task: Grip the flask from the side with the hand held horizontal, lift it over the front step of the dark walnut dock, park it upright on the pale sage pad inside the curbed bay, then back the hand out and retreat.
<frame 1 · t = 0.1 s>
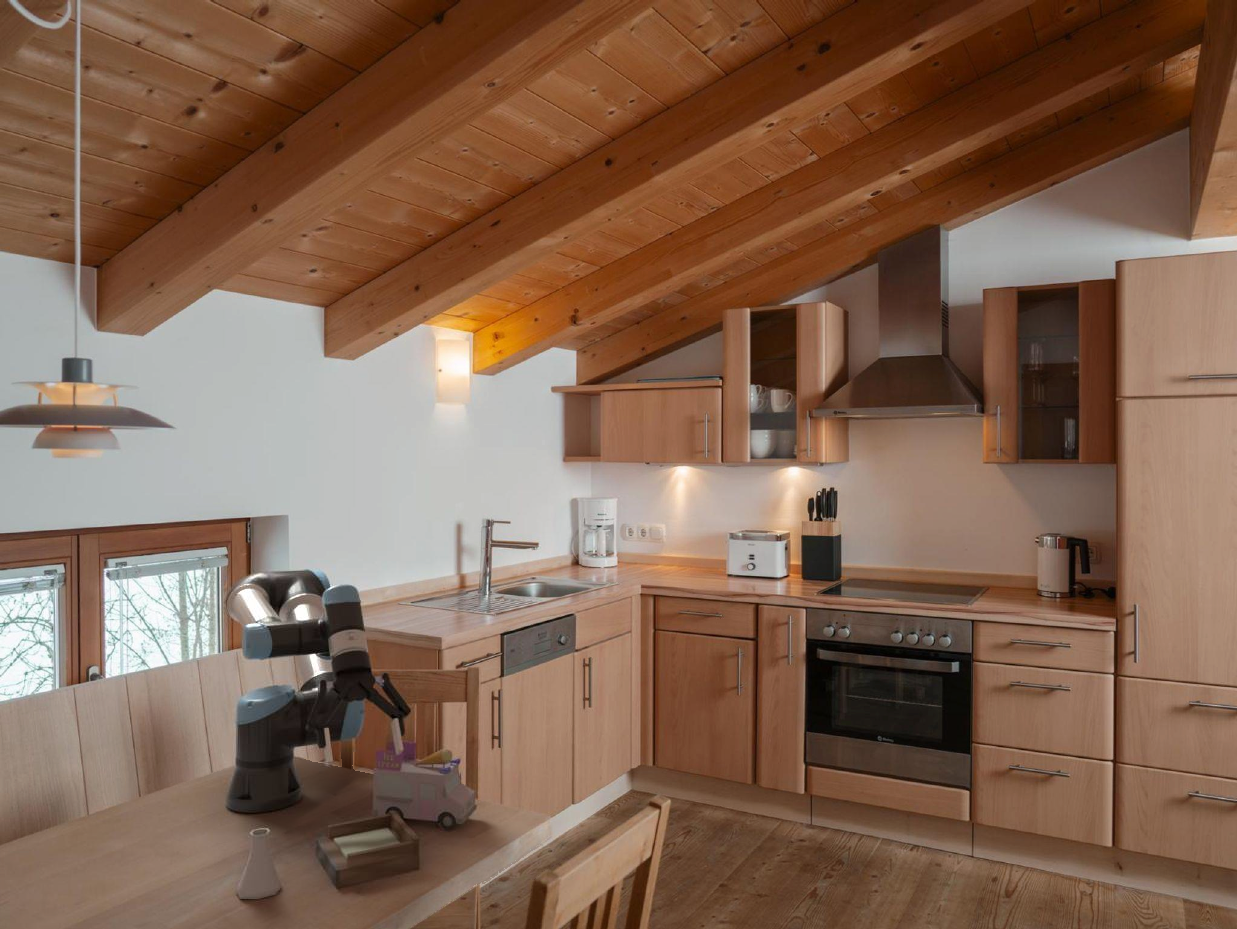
hand: (365, 758, 175), 15 cm above the table, tool tilted 35°, fingers open, 13 cm apart
toy vehicle: (424, 822, 183), on the table
dock: (368, 861, 164), on the table
flask: (259, 891, 153), on the table
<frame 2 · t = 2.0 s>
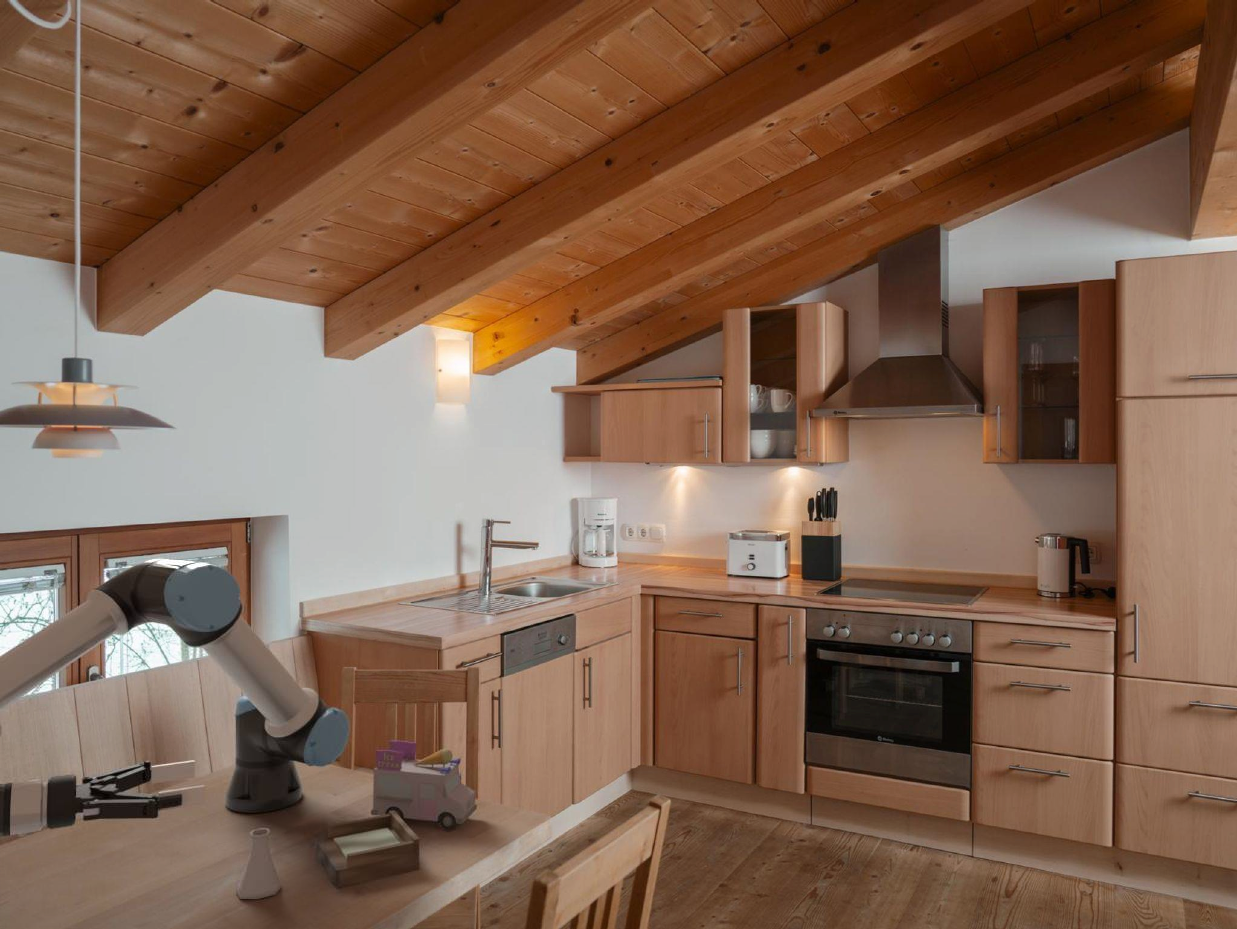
hand: (199, 780, 148), 20 cm above the table, tool horizontal, fingers open, 13 cm apart
nothing on the table moved.
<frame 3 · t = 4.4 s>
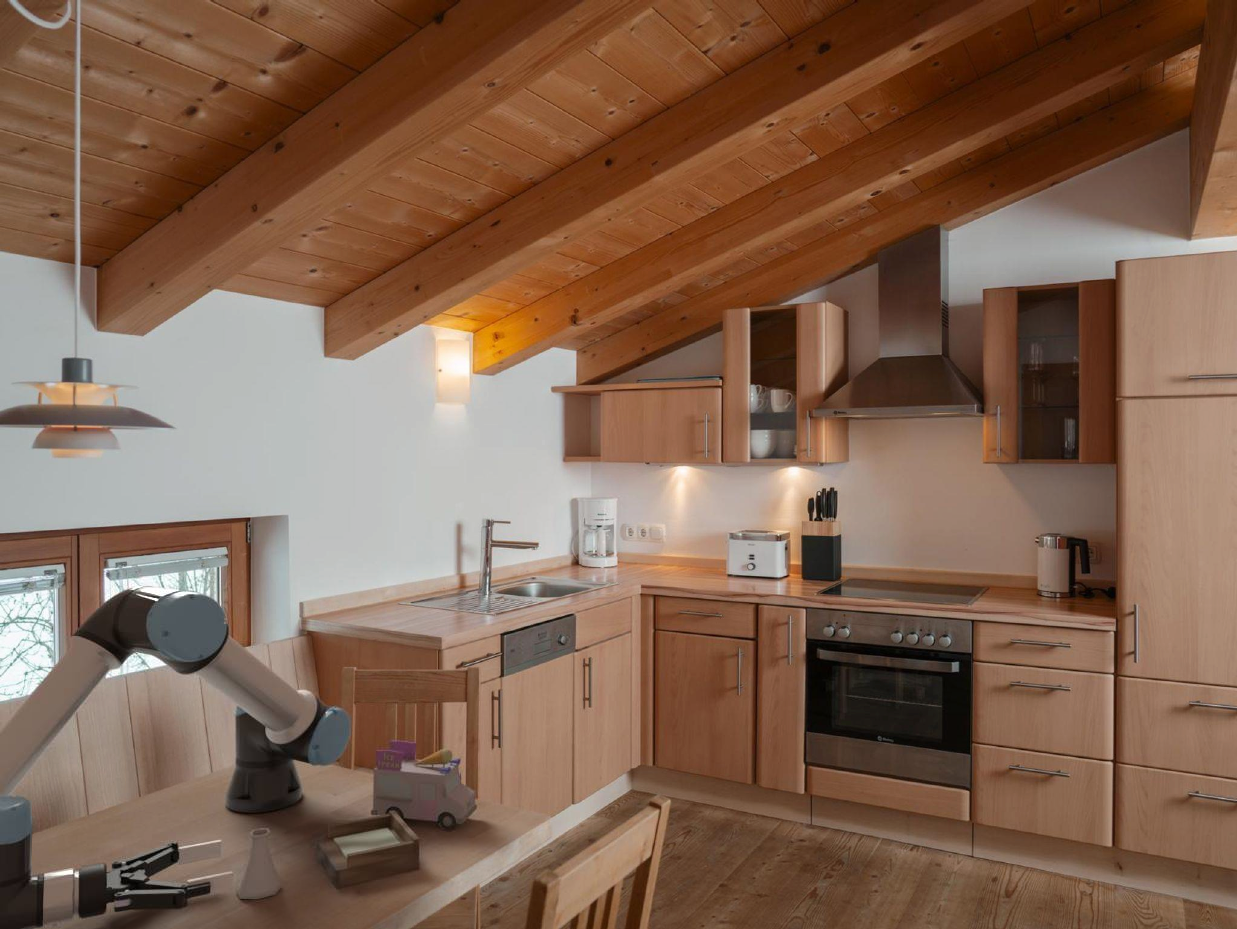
hand: (226, 863, 150), 6 cm above the table, tool horizontal, fingers open, 13 cm apart
nothing on the table moved.
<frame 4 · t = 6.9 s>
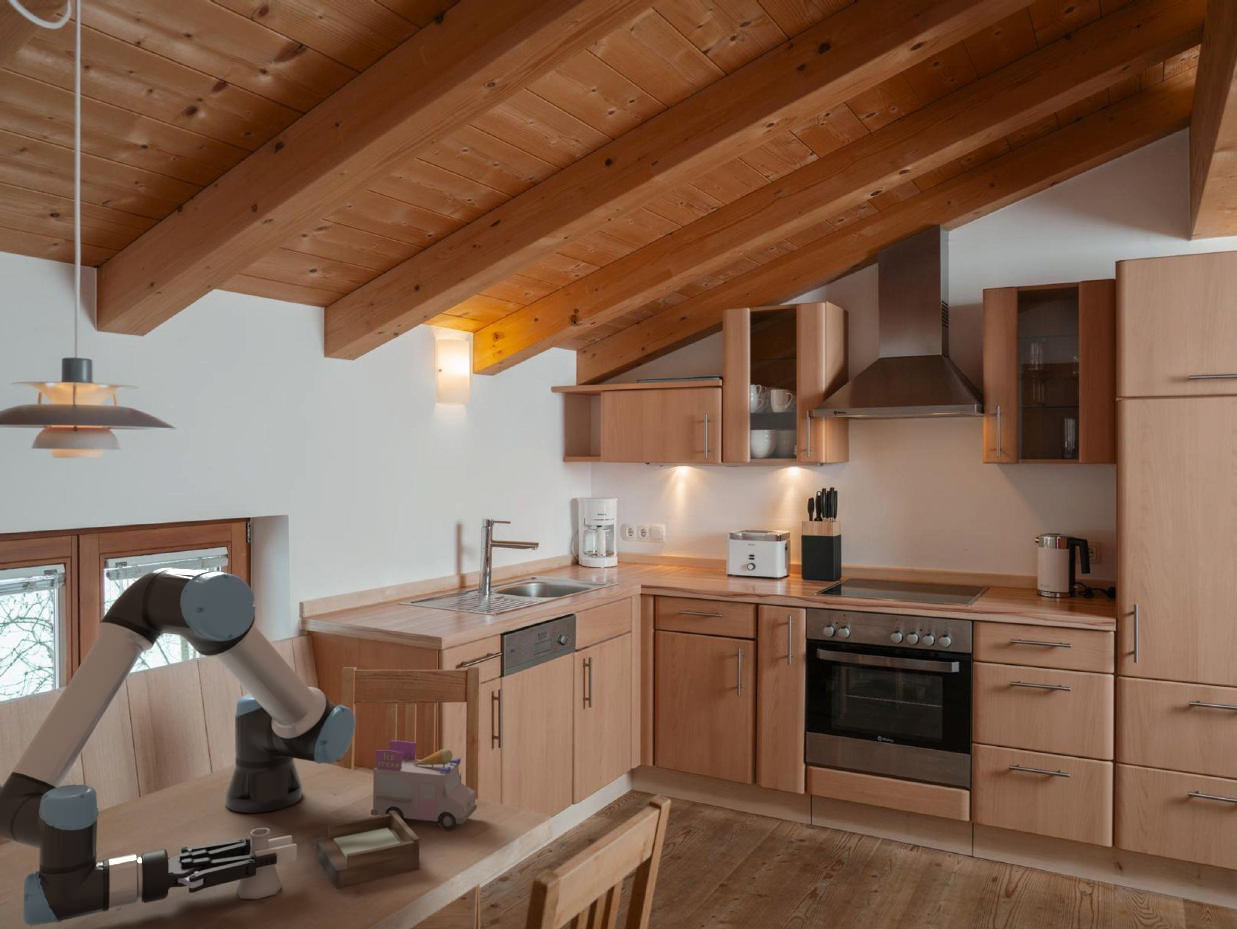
hand: (293, 847, 156), 6 cm above the table, tool horizontal, fingers closed on flask, 3 cm apart
flask: (259, 891, 153), on the table, touching gripper
everything else where it was.
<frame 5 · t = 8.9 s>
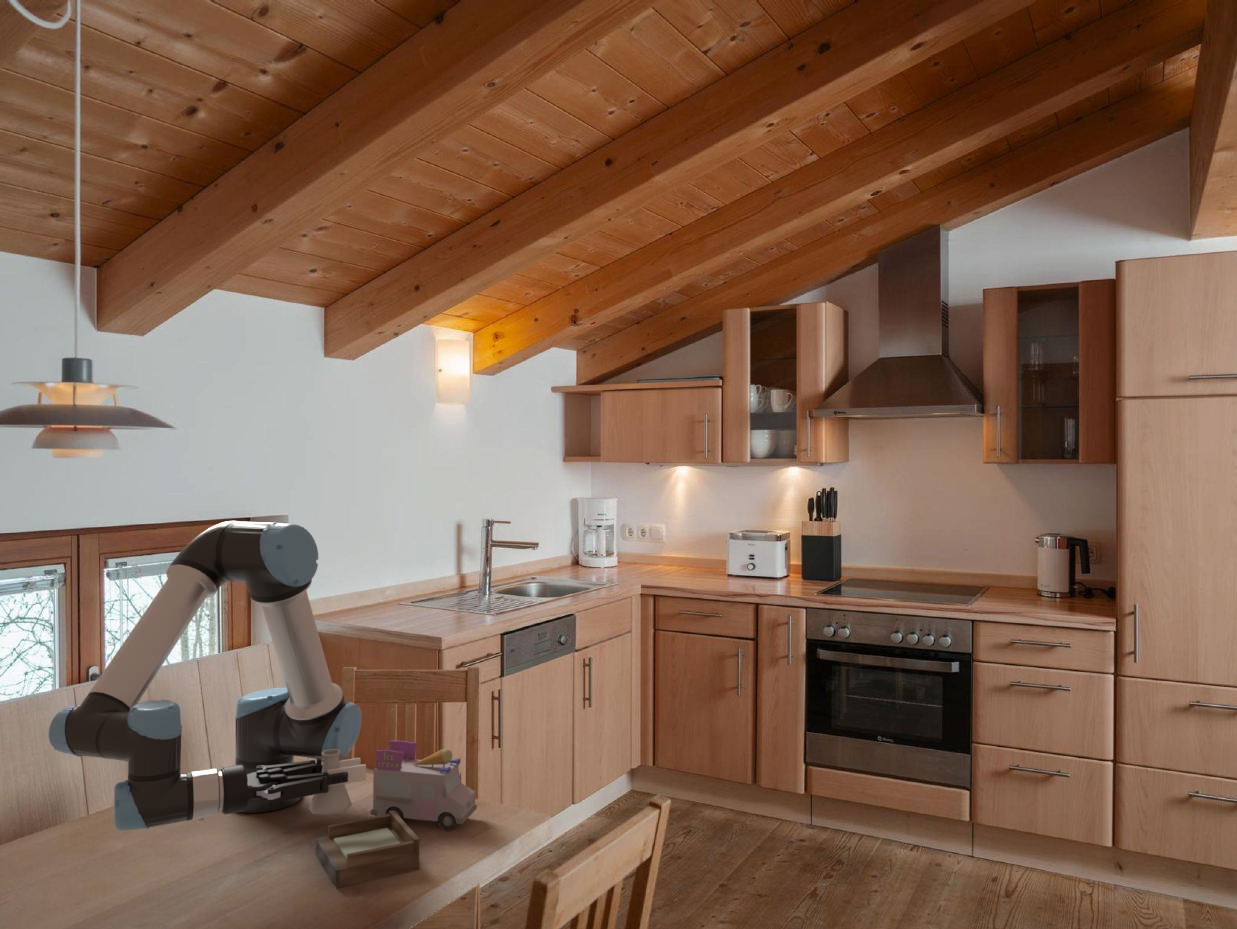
hand: (362, 768, 162), 18 cm above the table, tool horizontal, fingers closed on flask, 3 cm apart
flask: (330, 809, 159), point 12 cm above the table, touching gripper
everything else where it was.
when the fingers open (11 cm above the table, at t = 10.9 s): flask drops 2 cm, resting on dock.
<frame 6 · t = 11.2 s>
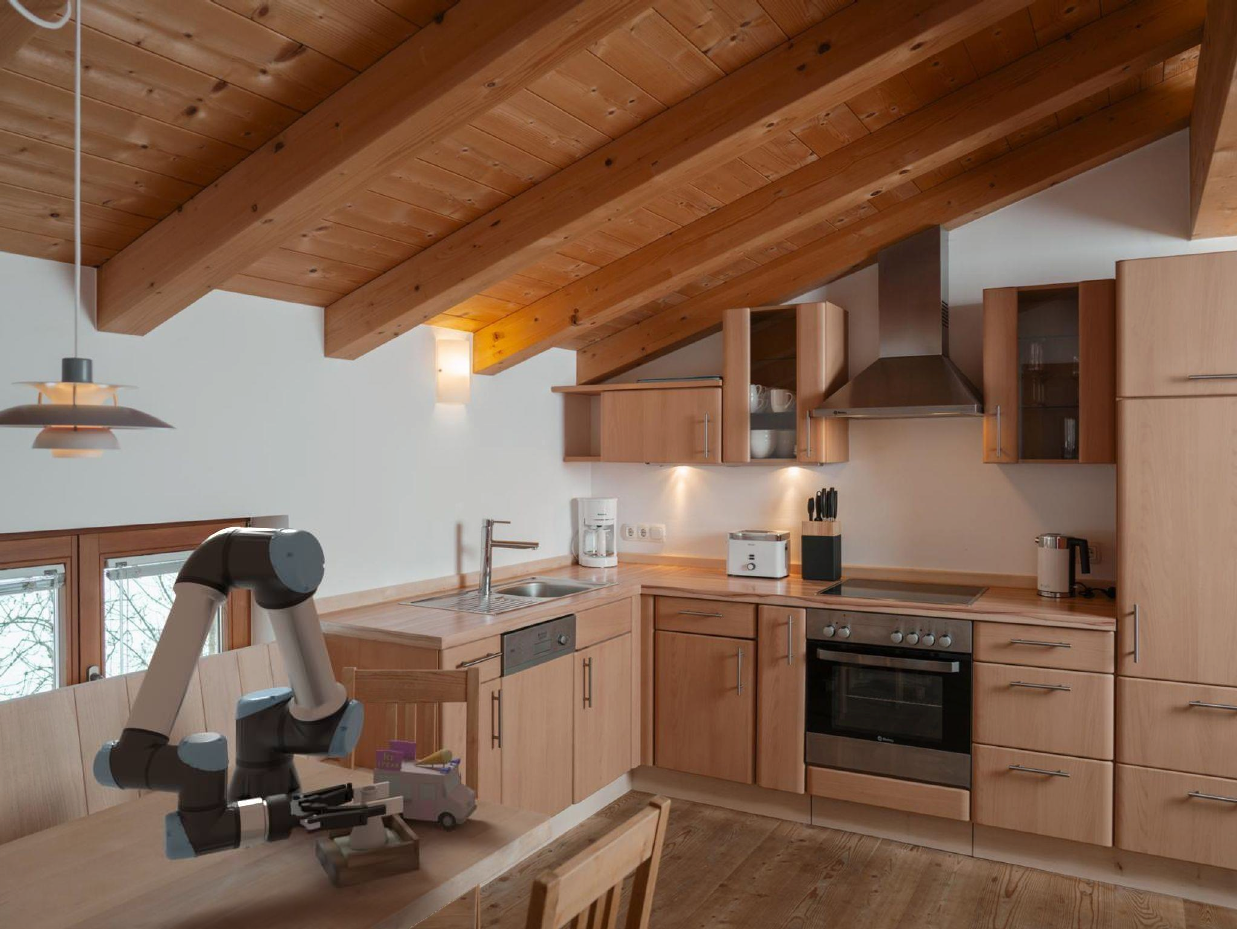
hand: (395, 796, 167), 11 cm above the table, tool horizontal, fingers open, 8 cm apart
flask: (368, 843, 164), point 3 cm above the table, touching dock
everything else where it was.
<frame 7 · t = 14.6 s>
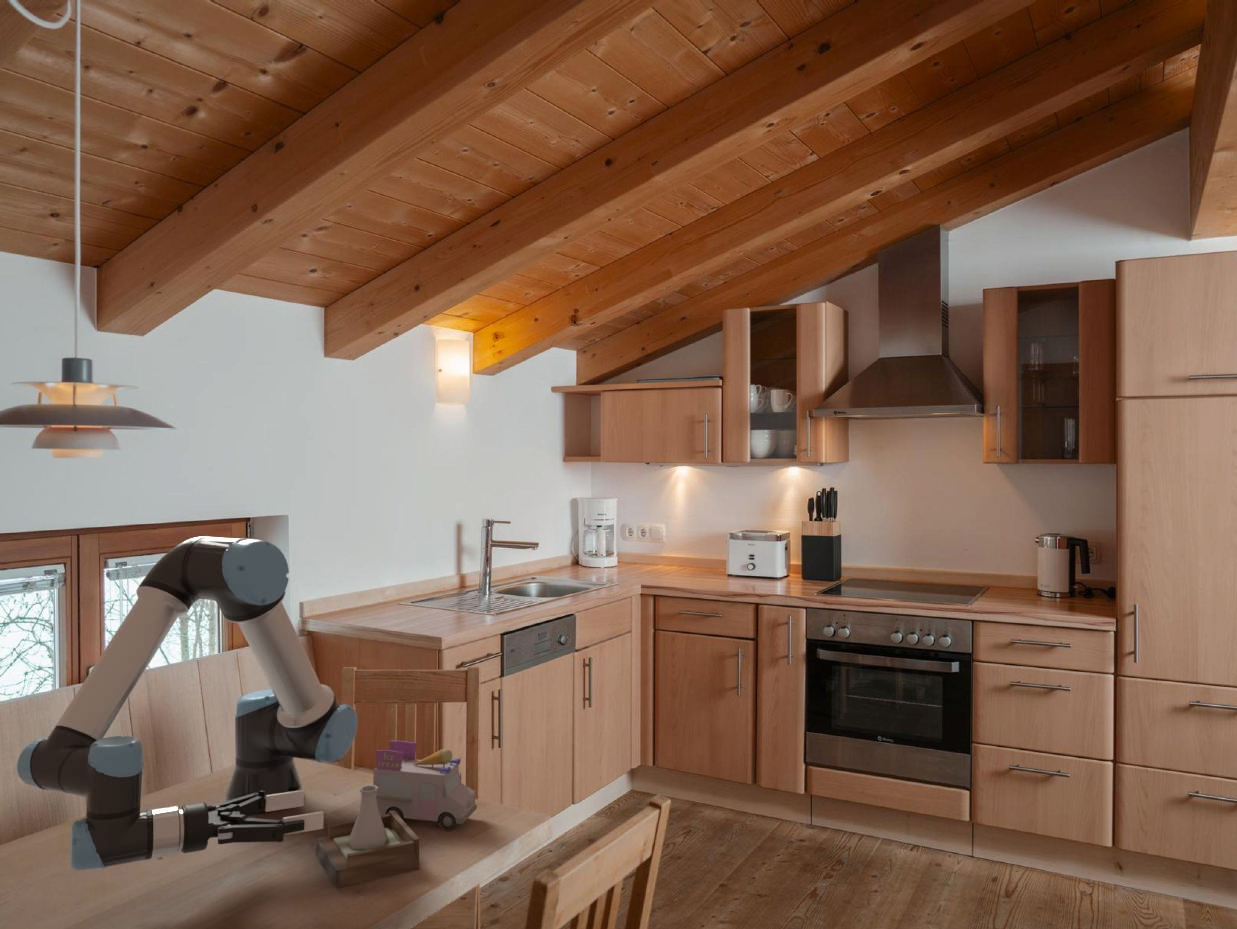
hand: (313, 808, 160), 11 cm above the table, tool horizontal, fingers open, 13 cm apart
nothing on the table moved.
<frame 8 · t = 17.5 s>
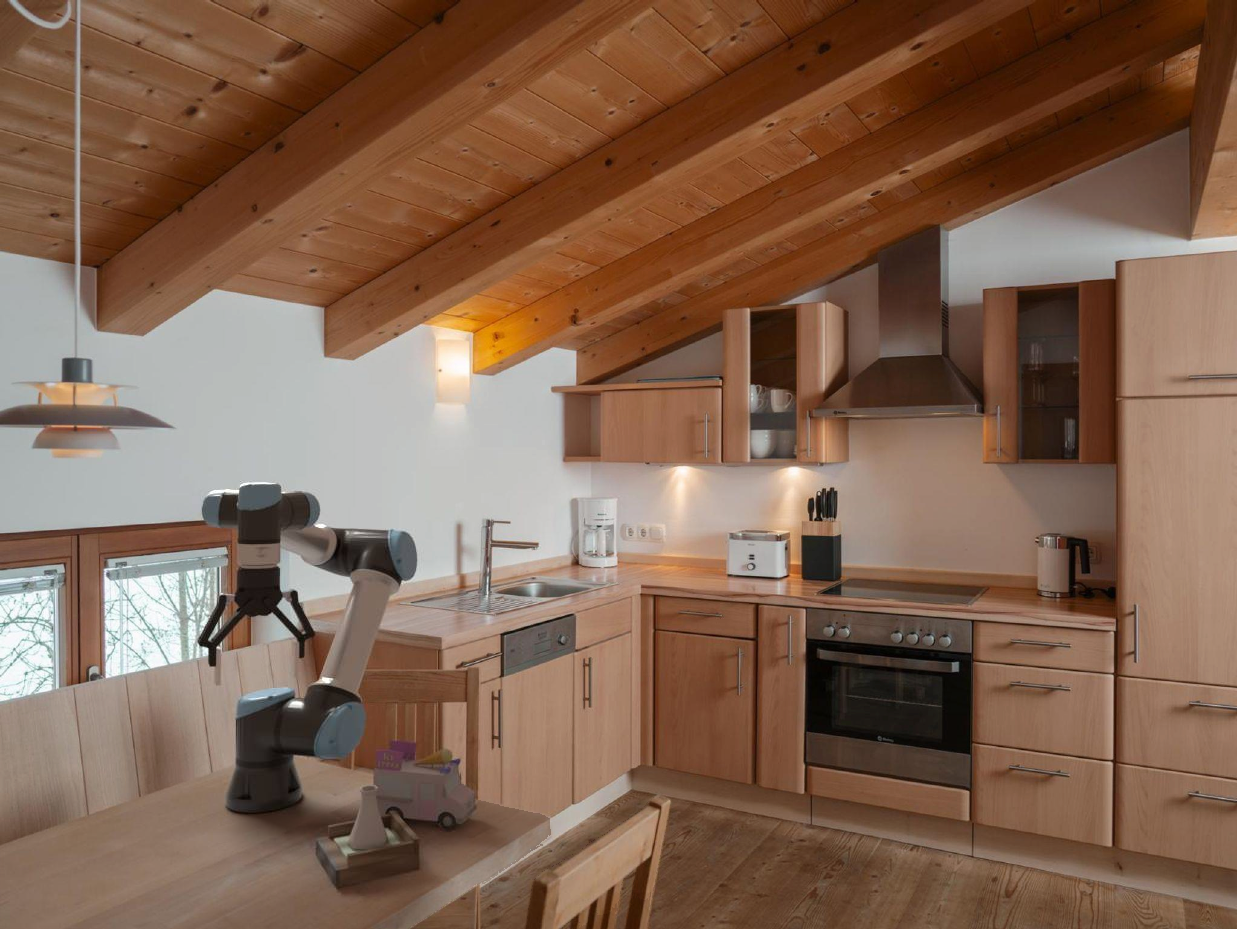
hand: (257, 679, 168), 32 cm above the table, tool pointing down, fingers open, 13 cm apart
nothing on the table moved.
at the end: flask inside the target area on the dock (0.1 cm from its centre), point 3.2 cm above the dock's base; flask tilted 0°; the gripper is holding nothing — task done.
